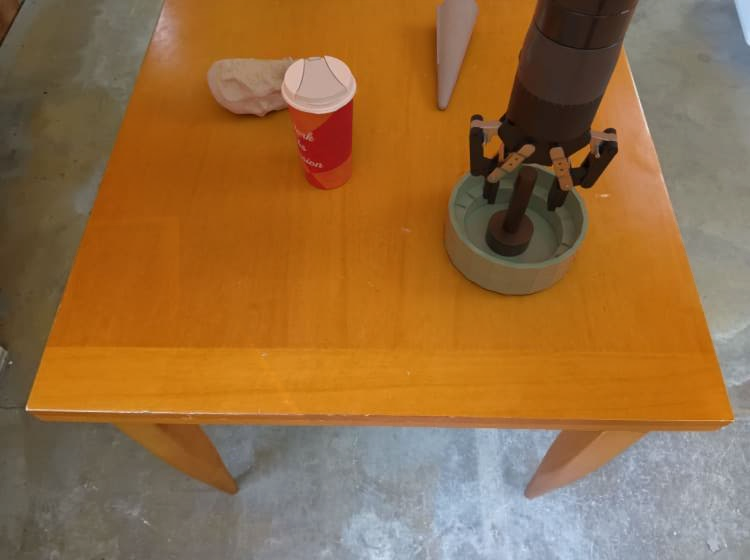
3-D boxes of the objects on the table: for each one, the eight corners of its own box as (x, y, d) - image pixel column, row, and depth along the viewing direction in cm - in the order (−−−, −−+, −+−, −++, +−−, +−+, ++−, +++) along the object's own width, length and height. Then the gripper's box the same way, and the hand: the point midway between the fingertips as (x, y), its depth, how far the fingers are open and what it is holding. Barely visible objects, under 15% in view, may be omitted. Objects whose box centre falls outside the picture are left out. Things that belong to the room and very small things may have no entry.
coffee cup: (293, 153, 76) (276, 56, 63) (354, 145, 77) (349, 47, 64) (300, 201, 71) (283, 107, 59) (365, 192, 72) (362, 97, 59)
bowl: (599, 253, 67) (617, 221, 62) (504, 321, 62) (516, 293, 57) (510, 175, 74) (519, 141, 68) (417, 231, 69) (421, 199, 64)
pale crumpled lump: (199, 121, 82) (226, 114, 69) (192, 67, 80) (218, 49, 67) (298, 117, 89) (340, 110, 76) (294, 68, 87) (336, 52, 74)
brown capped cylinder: (538, 242, 67) (565, 176, 57) (506, 264, 66) (528, 200, 56) (507, 214, 69) (528, 146, 60) (475, 235, 68) (491, 168, 58)
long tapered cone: (484, 91, 76) (479, -7, 84) (435, 94, 77) (435, -3, 85) (482, 120, 81) (478, 26, 90) (437, 123, 82) (437, 29, 90)
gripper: (473, 92, 46) (451, 221, 60) (657, 110, 45) (590, 237, 59) (479, 35, 50) (456, 169, 64) (647, 50, 49) (587, 183, 63)
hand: (520, 201), depth 62 cm, fingers open, 5 cm apart
